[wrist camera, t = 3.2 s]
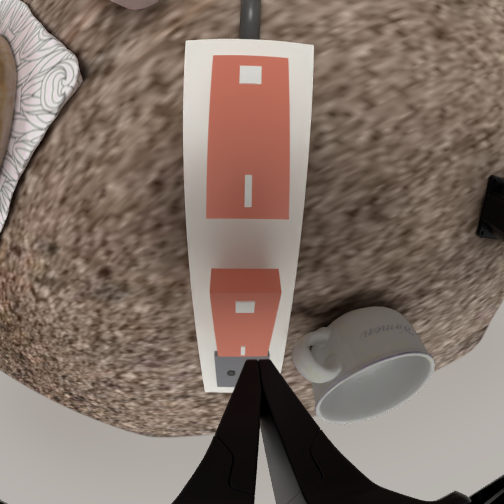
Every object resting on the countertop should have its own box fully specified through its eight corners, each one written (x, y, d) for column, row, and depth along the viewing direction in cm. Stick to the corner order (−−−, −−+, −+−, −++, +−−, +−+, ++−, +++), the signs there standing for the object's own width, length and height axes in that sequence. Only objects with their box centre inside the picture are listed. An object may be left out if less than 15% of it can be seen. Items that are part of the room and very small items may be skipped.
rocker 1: (283, 71, 12) (288, 56, 11) (282, 217, 14) (289, 219, 12) (215, 69, 12) (212, 54, 11) (209, 217, 14) (205, 218, 12)
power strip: (302, -14, 12) (317, -39, 8) (274, 368, 27) (278, 399, 24) (199, -18, 11) (191, -44, 8) (206, 368, 27) (204, 400, 23)
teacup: (413, 323, 26) (447, 376, 19) (338, 379, 29) (356, 435, 22) (347, 246, 21) (392, 309, 14) (252, 327, 25) (258, 402, 17)
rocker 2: (278, 268, 15) (281, 294, 14) (265, 337, 21) (267, 357, 20) (211, 268, 15) (209, 294, 14) (218, 337, 21) (218, 357, 19)
